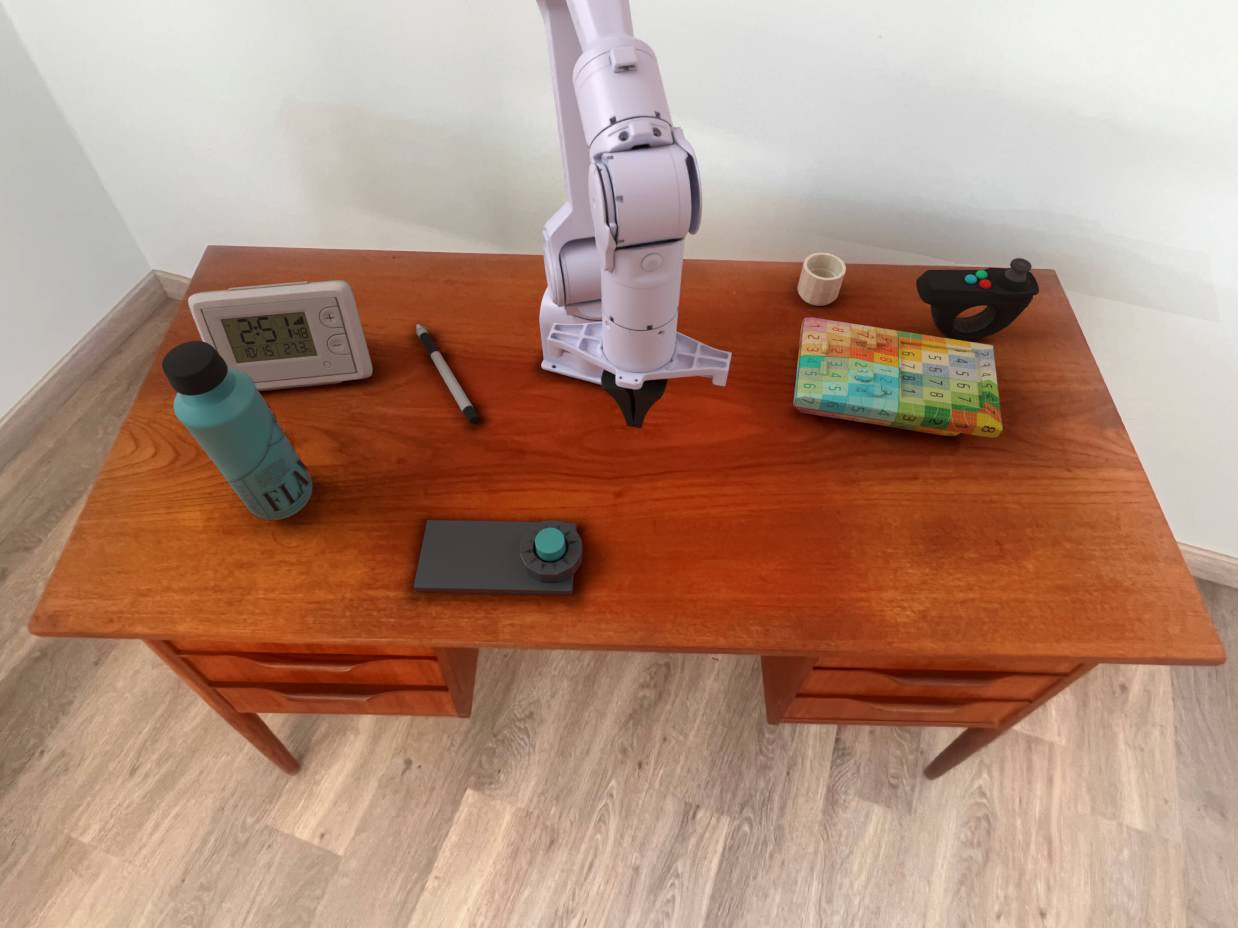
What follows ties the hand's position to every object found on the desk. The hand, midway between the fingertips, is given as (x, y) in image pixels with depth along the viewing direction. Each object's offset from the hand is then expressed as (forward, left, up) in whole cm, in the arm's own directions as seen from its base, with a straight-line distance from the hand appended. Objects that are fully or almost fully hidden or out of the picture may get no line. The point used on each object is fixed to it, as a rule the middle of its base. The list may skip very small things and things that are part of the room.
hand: (636, 418), depth 66 cm
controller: (+28, +31, -9) cm, 43 cm away
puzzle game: (+22, +19, -9) cm, 31 cm away
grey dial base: (-9, -13, -9) cm, 18 cm away
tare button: (-4, -11, -7) cm, 14 cm away
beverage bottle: (-31, -14, -9) cm, 35 cm away
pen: (-24, +6, -9) cm, 26 cm away
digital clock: (-39, +1, -9) cm, 40 cm away
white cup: (+12, +32, -9) cm, 36 cm away
